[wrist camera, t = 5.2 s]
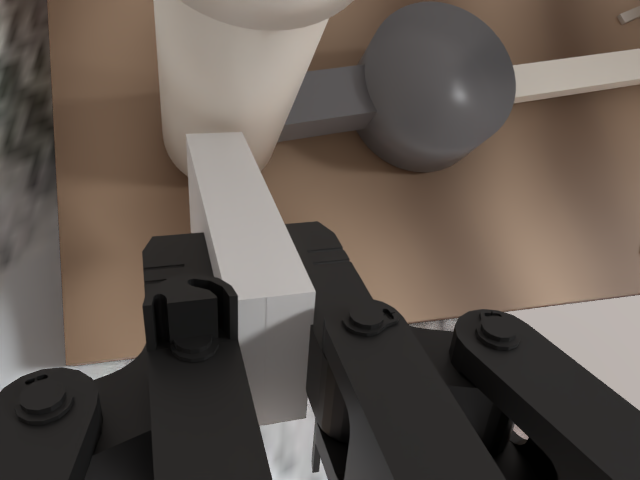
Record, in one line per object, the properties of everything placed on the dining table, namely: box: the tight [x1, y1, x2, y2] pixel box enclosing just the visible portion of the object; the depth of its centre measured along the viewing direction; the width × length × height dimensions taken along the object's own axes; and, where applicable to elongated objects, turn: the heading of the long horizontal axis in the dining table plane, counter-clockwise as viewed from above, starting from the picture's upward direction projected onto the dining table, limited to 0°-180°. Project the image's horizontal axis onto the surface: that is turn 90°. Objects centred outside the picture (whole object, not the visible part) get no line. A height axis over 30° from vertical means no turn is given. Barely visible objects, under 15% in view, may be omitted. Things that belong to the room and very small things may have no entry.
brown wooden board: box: [47, 0, 640, 366], centre depth 23 cm, size 26×17×2 cm, turn 98°
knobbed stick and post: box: [153, 0, 640, 176], centre depth 17 cm, size 22×5×11 cm, turn 104°
